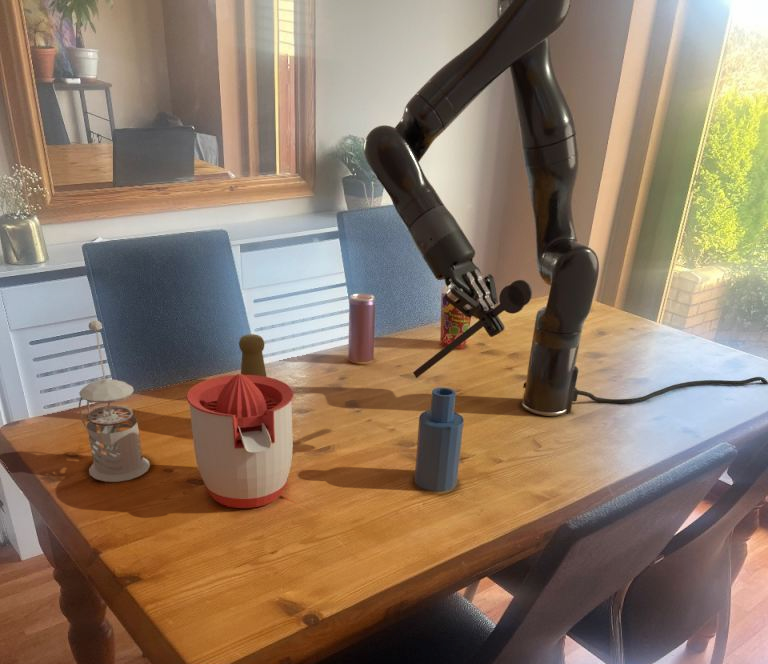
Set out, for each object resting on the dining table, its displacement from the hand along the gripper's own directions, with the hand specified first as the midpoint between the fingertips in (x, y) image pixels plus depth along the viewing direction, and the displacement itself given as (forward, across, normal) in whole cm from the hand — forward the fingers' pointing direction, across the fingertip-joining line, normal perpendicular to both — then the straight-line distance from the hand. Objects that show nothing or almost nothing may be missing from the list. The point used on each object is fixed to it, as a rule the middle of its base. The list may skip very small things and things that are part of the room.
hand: (498, 333), depth 117 cm
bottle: (+15, -13, +17) cm, 27 cm away
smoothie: (-9, +50, +42) cm, 66 cm away
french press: (-16, -44, +49) cm, 68 cm away
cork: (-22, -3, +55) cm, 59 cm away
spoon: (-3, 0, +19) cm, 19 cm away
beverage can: (-17, +26, +50) cm, 59 cm away
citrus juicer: (+1, -36, +32) cm, 49 cm away
